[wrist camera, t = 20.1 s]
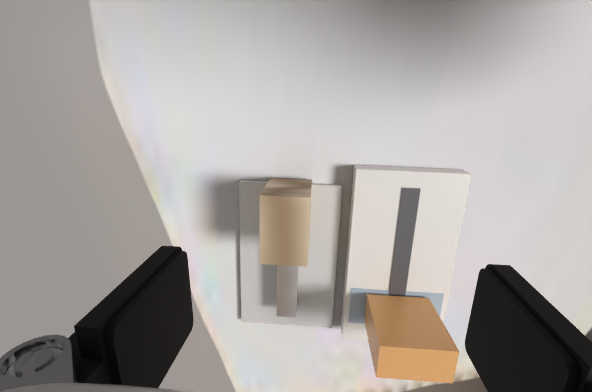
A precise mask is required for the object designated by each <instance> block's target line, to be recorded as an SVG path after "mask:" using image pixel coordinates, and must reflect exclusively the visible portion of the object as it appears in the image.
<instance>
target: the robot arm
mask: <svg viewBox="0 0 592 392" xmlns="http://www.w3.org/2000/svg"><path fill="white" fill-rule="evenodd" d="M192 327H193V311H192V300H191V290H190V279H189V269H188V259H187V253H186V252H185V251H182V249H181V248H180V247H174V246H162V247H160V248H159V249H158V250H157V251H156V252H155V253H153V254H152V255H151V256H150V257H149V258H148V259H147V260H146V261H145V262H144V263H143V264H142V265H140V266H139V267H138V268H137V269H136V270H135V271H134V272H133V273H132V274H131V275H130V276H129V277H127V278H126V279H125V280H124V281H123V282H122V283H121V284H120V285H119V286H117V287H116V288H115V289H114V290H113V291H112V292H111V293H110V294H109V295H108V296H107V297H105V298H104V299H103V300H102V301H101V302H100V303H99V304H98V305H97V306H96V307H94V308H93V309H92V310H91V311H90V312H89V313H88V314H87V315H86V316H85V317H84V318H82V319H81V320H80V321H79V322H78V323H77V324H76V325H75V326H74V328H75V333H73V334H72V335H71V336H70V337H69V338H66V337H65V336H60V335H47V336H42V337H38V338H34V339H32V340H29V341H27V342H24V343H22V344H20V345H18V346H16V347H15V348H13V349H11V350H10V351H8V352H7V353H6V354H4V355H3V356H2V357H1V358H0V392H194V391H182V390H172V389H160V388H158V387H159V385H160V384H161V382H162V381H163V379H164V377H165V375H166V373H167V372H168V370H169V368H170V367H171V365H172V363H173V362H174V360H175V358H176V356H177V355H178V353H179V351H180V349H181V348H182V346H183V344H184V342H185V341H186V339H187V337H188V336H189V334H190V332H191V330H192ZM465 347H466V351H467V354H468V356H469V358H470V359H471V361H472V363H473V365H474V367H475V369H476V371H477V373H478V374H479V376H480V378H481V380H482V382H483V383H484V386H485V387H486V389H487V391H488V392H592V342H591V341H590V340H589V339H588V338H587V337H586V336H584V335H583V334H582V333H581V332H580V331H579V330H578V329H577V328H576V327H575V326H574V325H573V324H572V323H571V322H570V321H569V320H568V319H566V318H565V317H564V316H563V315H562V314H561V313H560V312H559V311H558V310H557V309H556V308H555V307H554V306H553V305H552V304H551V303H549V302H548V301H547V300H546V299H545V298H544V297H543V296H542V295H541V294H540V293H539V292H538V291H537V290H536V289H535V288H534V287H533V286H531V285H530V284H529V283H528V282H527V281H526V280H525V279H524V278H523V277H522V276H521V275H520V274H519V273H518V272H517V271H516V270H515V269H513V268H512V267H511V266H510V265H493V264H489V265H487V266H486V268H485V269H481V270H480V272H479V276H478V281H477V285H476V290H475V295H474V300H473V305H472V310H471V315H470V319H469V324H468V329H467V334H466V339H465Z"/></svg>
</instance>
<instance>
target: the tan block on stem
mask: <svg viewBox="0 0 592 392" xmlns="http://www.w3.org/2000/svg"><path fill="white" fill-rule="evenodd" d="M311 188H312V180H308V179H284V178H270V179H269V181H268V182H267V184H266V186H265V187H264V189H263V190H262V192H261V194H260V264H269V265H277V312H276V316H280V317H296V312H297V296H298V266H304V267H308V252H309V235H310V212H311Z"/></svg>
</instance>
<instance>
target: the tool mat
mask: <svg viewBox="0 0 592 392" xmlns="http://www.w3.org/2000/svg"><path fill="white" fill-rule="evenodd" d="M267 182H268V181H249V180H240V181H239V220H240V272H241V321H242V322H257V323H271V324H285V325H300V326H314V327H329V328H332V320H333V306H334V292H335V279H336V265H337V251H338V238H339V224H340V211H341V197H342V185H336V184H314V183H312V188H311V212H310V235H309V252H308V267H304V266H298V296H297V312H296V317H280V316H276V312H277V265H269V264H260V194H261V192H262V190H263V189H264V187H265V186H266V184H267Z"/></svg>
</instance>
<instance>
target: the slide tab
mask: <svg viewBox="0 0 592 392" xmlns="http://www.w3.org/2000/svg"><path fill="white" fill-rule="evenodd" d="M364 322H365V327H366V331H367V336H368V341H369V346H370V350H371V355H372V360H373V365H374V370H375V374H376V377H380V378H393V379H406V380H419V381H432V382H445V383H453V380H454V375H455V370H456V365H457V360H458V356H459V350H458V349H457V347H456V345H455V343H454V342H453V340H452V338H451V336H450V334H449V333H448V331H447V329H446V327H445V326H444V324H443V322H442V320H441V318H440V317H439V315H438V313H437V311H436V310H435V308H434V306H433V304H432V302H431V301H430V299H429V298H420V297H404V296H389V295H373V294H367V298H366V307H365V317H364Z"/></svg>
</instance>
